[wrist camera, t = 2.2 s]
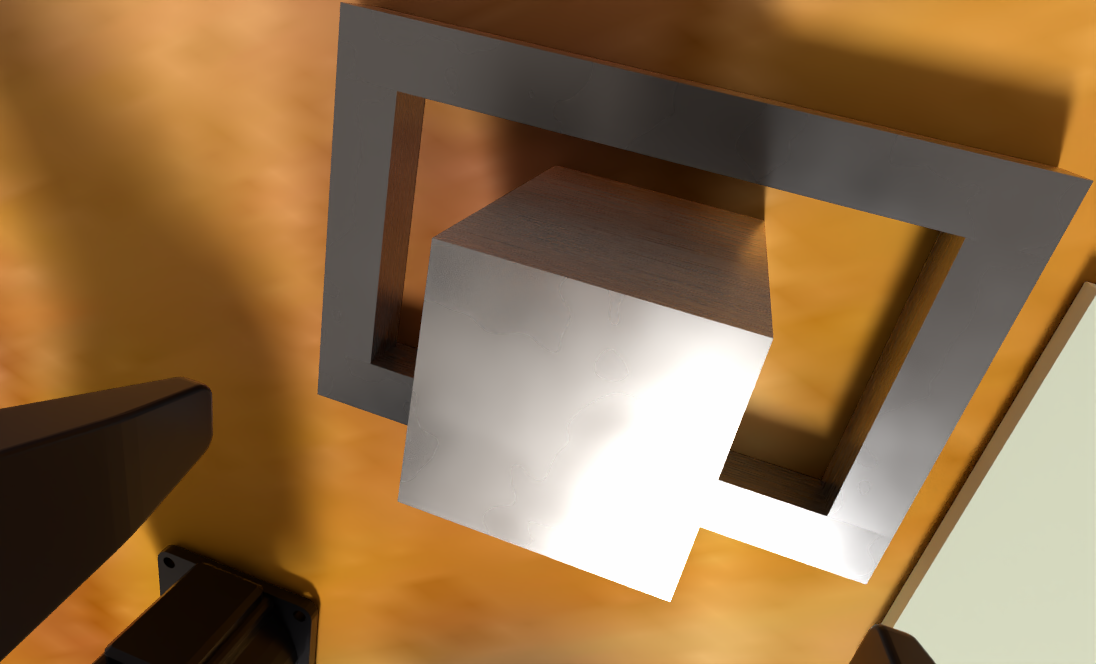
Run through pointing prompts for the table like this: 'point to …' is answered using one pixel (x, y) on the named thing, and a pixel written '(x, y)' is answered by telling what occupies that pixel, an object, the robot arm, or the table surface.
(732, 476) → the socket frame
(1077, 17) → the table surface
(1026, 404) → the felt pad
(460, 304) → the block
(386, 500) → the table surface
